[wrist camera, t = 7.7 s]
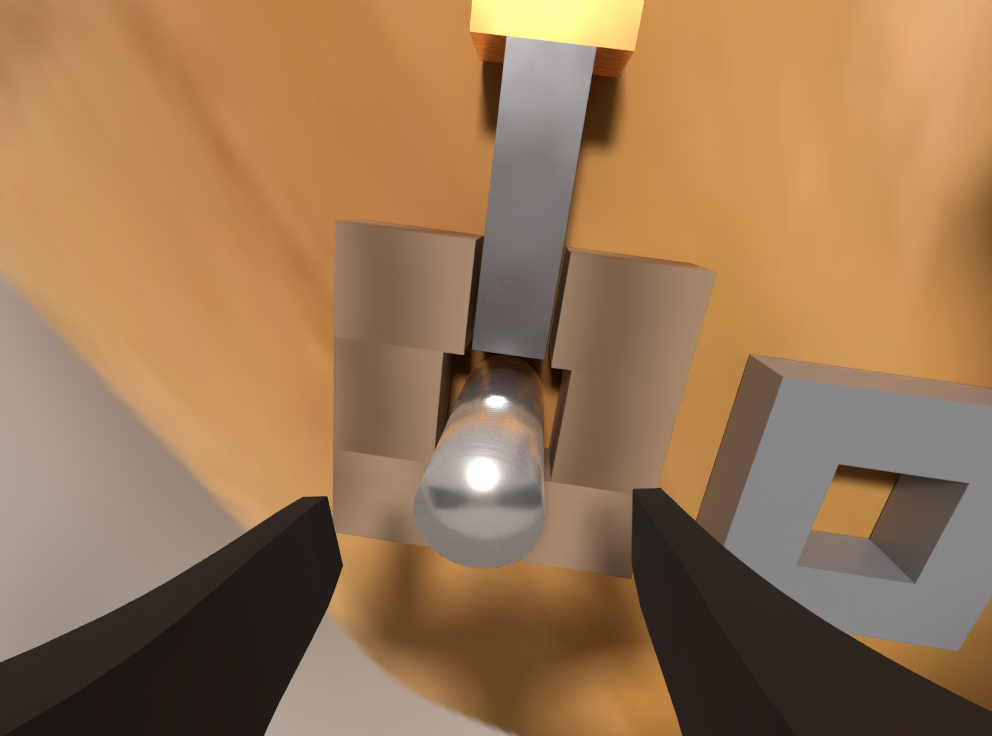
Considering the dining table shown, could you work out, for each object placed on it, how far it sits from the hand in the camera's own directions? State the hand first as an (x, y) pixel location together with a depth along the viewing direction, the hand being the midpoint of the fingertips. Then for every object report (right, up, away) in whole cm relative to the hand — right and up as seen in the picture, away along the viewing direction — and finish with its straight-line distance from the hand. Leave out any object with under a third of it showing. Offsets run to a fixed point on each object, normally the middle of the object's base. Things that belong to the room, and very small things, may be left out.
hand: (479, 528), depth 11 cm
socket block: (+1, +3, +8) cm, 8 cm away
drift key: (+2, +10, +5) cm, 11 cm away
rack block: (+14, -1, +8) cm, 16 cm away
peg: (+1, +3, +8) cm, 8 cm away
